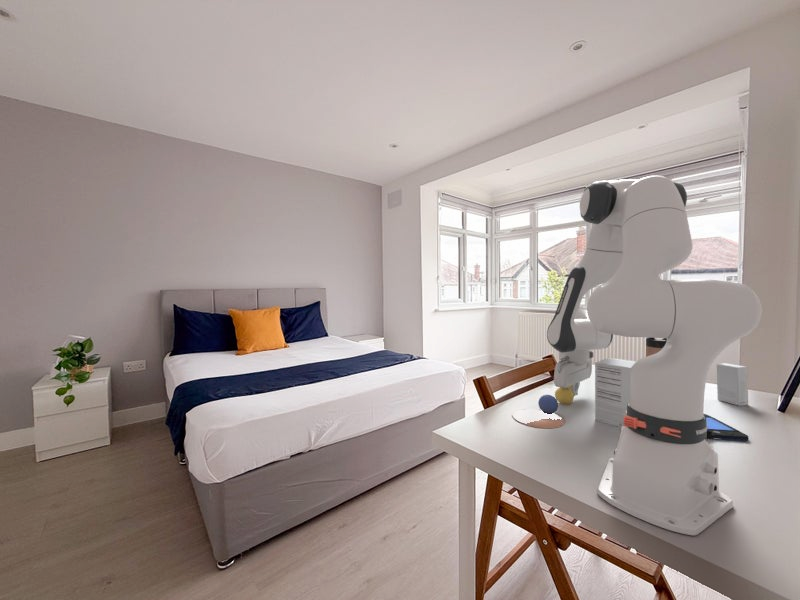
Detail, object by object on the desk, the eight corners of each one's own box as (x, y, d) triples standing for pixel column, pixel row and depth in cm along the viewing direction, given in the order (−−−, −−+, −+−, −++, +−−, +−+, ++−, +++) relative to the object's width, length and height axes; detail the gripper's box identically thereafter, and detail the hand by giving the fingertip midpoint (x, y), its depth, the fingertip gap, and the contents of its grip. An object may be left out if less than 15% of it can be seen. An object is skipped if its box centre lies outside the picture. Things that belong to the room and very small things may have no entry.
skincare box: (749, 405, 104) (749, 366, 103) (738, 406, 103) (738, 367, 102) (725, 398, 110) (726, 362, 109) (715, 399, 109) (716, 363, 108)
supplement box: (608, 412, 100) (608, 356, 99) (645, 422, 92) (645, 362, 92) (594, 420, 94) (594, 361, 93) (631, 431, 87) (631, 367, 86)
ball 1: (563, 405, 100) (556, 420, 97) (545, 401, 104) (538, 414, 101) (558, 393, 98) (551, 407, 95) (540, 389, 102) (533, 402, 99)
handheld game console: (752, 443, 79) (752, 405, 79) (687, 439, 82) (688, 402, 82) (706, 418, 95) (706, 386, 94) (653, 415, 97) (653, 384, 97)
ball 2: (578, 393, 107) (574, 409, 105) (562, 391, 112) (557, 405, 110) (571, 384, 105) (566, 400, 103) (554, 382, 109) (549, 397, 107)
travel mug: (661, 403, 106) (661, 341, 106) (639, 395, 114) (639, 338, 113) (680, 401, 108) (680, 340, 107) (657, 393, 115) (658, 337, 115)
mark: (549, 433, 86) (549, 432, 86) (502, 417, 97) (502, 416, 97) (573, 419, 95) (573, 418, 95) (528, 406, 106) (528, 405, 106)
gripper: (568, 360, 101) (568, 405, 101) (595, 351, 114) (595, 391, 114) (548, 357, 106) (548, 400, 106) (576, 349, 119) (576, 387, 119)
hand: (573, 395), depth 110 cm, fingers closed
